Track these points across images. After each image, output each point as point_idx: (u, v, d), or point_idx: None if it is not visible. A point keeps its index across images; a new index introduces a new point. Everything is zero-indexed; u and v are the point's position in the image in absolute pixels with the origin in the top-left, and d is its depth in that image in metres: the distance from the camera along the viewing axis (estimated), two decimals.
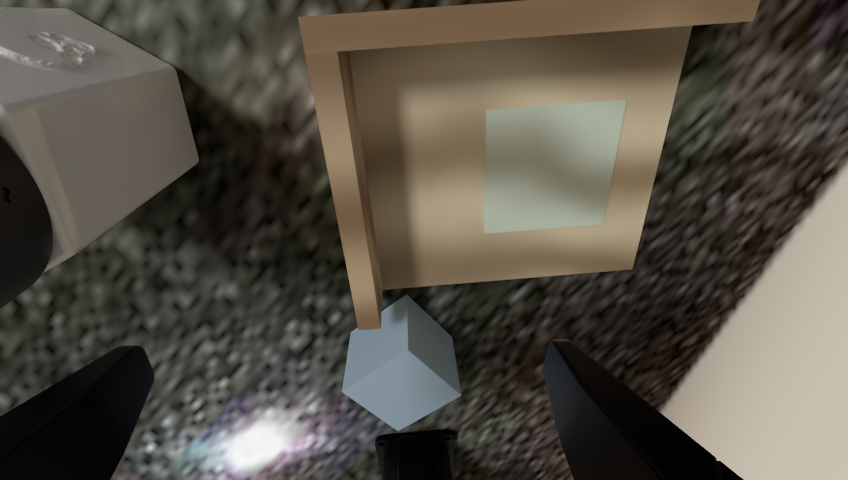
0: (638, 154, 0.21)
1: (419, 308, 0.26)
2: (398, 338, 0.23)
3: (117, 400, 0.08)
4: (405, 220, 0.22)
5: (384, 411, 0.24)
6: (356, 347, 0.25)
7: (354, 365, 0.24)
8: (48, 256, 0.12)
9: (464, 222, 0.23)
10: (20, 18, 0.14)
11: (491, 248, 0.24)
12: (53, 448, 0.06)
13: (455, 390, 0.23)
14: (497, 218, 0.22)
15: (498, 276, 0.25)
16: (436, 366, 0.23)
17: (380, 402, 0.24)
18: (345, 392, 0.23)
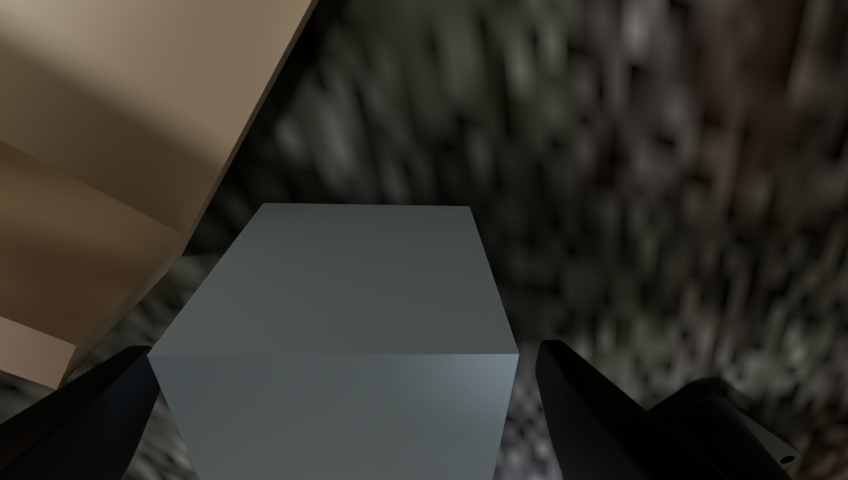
0: None
1: (316, 207, 0.09)
2: None
3: (128, 400, 0.08)
4: None
5: None
6: None
7: None
8: None
9: None
10: None
11: None
12: (66, 448, 0.06)
13: (477, 353, 0.05)
14: None
15: None
16: (354, 322, 0.06)
17: None
18: None
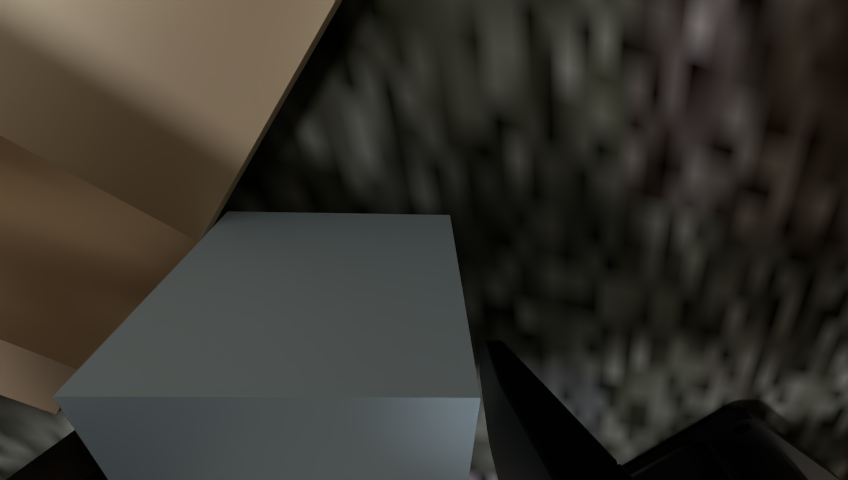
0: None
1: (283, 216, 0.09)
2: None
3: None
4: None
5: None
6: None
7: None
8: None
9: None
10: None
11: None
12: None
13: (432, 397, 0.05)
14: None
15: None
16: (297, 356, 0.05)
17: None
18: None
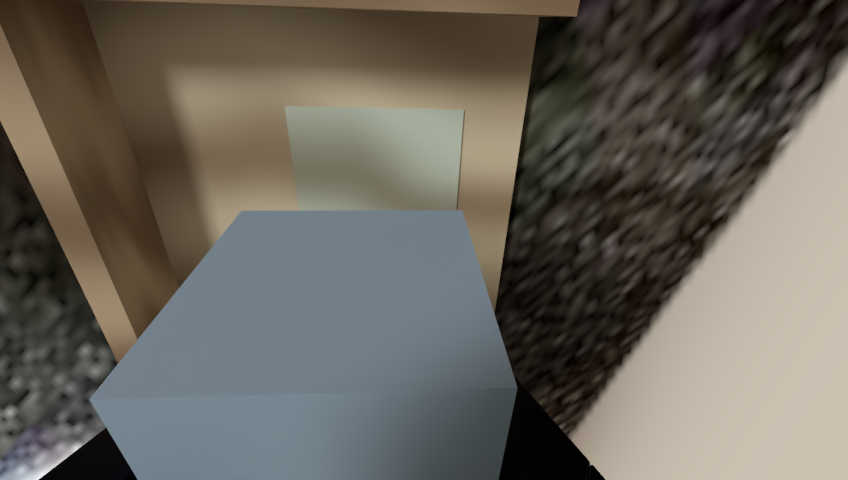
0: (487, 179, 0.17)
1: (297, 216, 0.09)
2: None
3: None
4: (202, 235, 0.18)
5: None
6: None
7: None
8: None
9: None
10: None
11: None
12: None
13: (470, 388, 0.05)
14: None
15: None
16: (331, 351, 0.05)
17: None
18: None
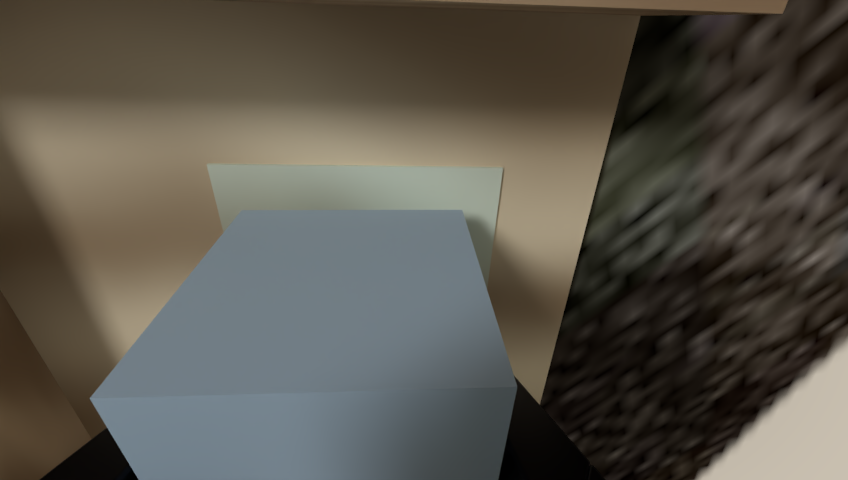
0: (533, 266, 0.11)
1: (297, 216, 0.09)
2: None
3: None
4: (100, 347, 0.12)
5: None
6: None
7: None
8: None
9: None
10: None
11: None
12: None
13: (470, 387, 0.05)
14: None
15: None
16: (330, 351, 0.05)
17: None
18: None
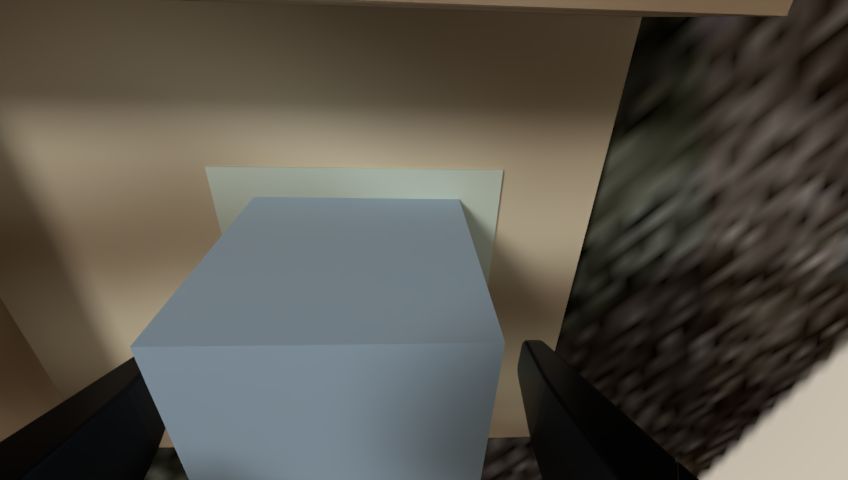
0: (533, 269, 0.11)
1: (306, 202, 0.09)
2: None
3: (151, 399, 0.08)
4: (97, 350, 0.12)
5: None
6: None
7: None
8: None
9: None
10: None
11: None
12: (94, 447, 0.06)
13: (463, 343, 0.05)
14: None
15: None
16: (341, 313, 0.06)
17: None
18: None
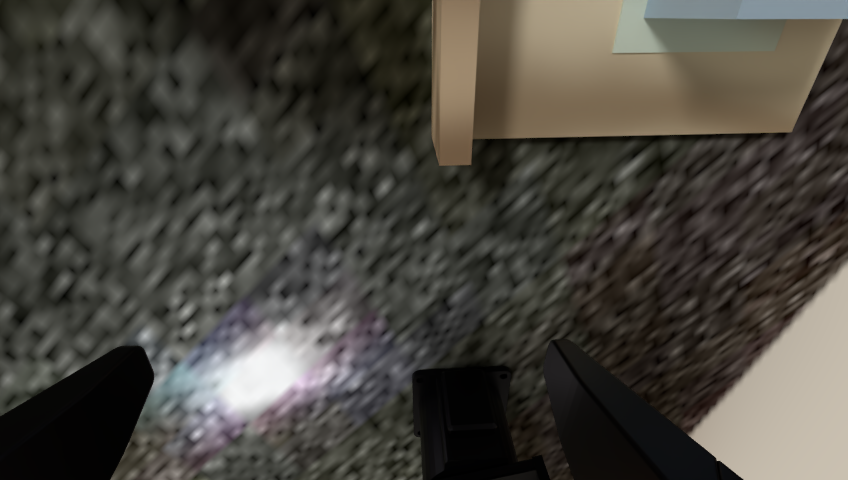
0: None
1: None
2: None
3: (117, 400, 0.08)
4: (508, 20, 0.16)
5: None
6: None
7: None
8: None
9: (588, 32, 0.16)
10: None
11: (616, 80, 0.17)
12: (53, 448, 0.06)
13: None
14: (636, 28, 0.16)
15: (616, 129, 0.18)
16: None
17: None
18: (743, 15, 0.11)
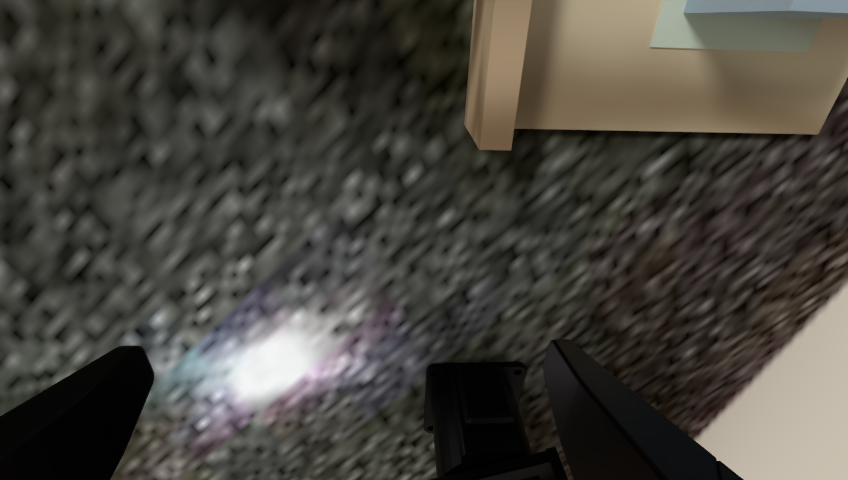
0: None
1: None
2: None
3: (117, 400, 0.08)
4: (550, 9, 0.16)
5: None
6: None
7: None
8: None
9: (628, 24, 0.16)
10: None
11: (652, 75, 0.17)
12: (53, 448, 0.06)
13: None
14: (675, 22, 0.16)
15: (648, 124, 0.18)
16: None
17: None
18: (796, 6, 0.12)
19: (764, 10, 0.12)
